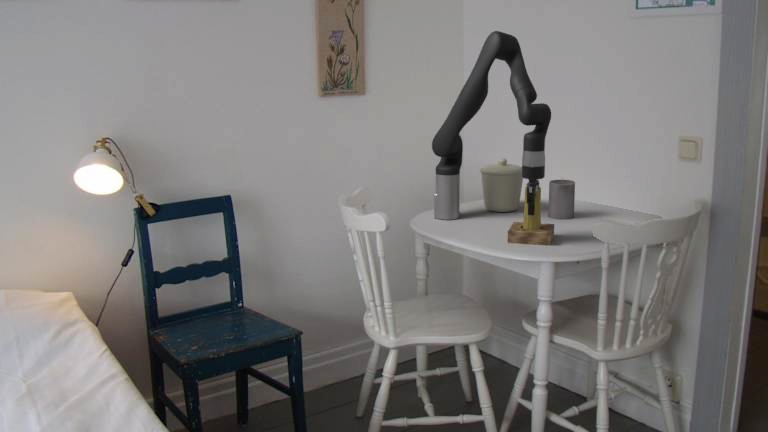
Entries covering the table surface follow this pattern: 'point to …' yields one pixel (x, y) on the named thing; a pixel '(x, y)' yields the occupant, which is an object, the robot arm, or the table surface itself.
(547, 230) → the socket block
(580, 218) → the table surface
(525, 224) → the vase
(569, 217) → the pillar candle
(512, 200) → the canister
